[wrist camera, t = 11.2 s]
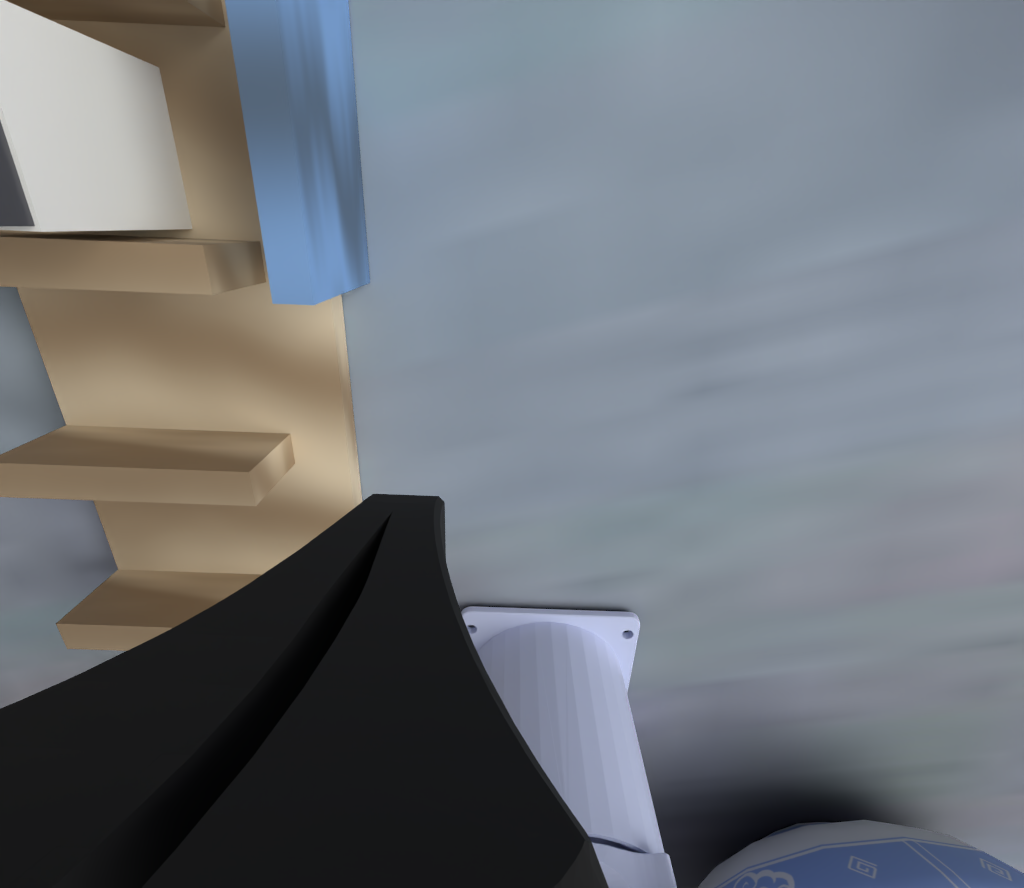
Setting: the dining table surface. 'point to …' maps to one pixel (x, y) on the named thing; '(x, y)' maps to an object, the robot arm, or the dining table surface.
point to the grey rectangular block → (82, 134)
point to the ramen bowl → (861, 860)
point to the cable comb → (206, 316)
